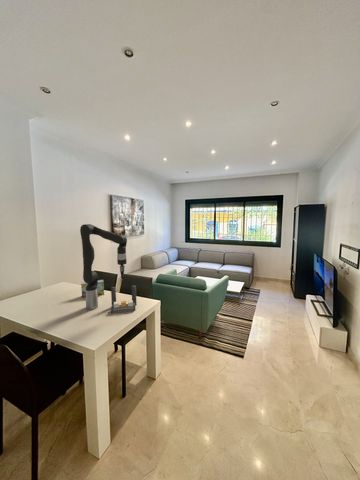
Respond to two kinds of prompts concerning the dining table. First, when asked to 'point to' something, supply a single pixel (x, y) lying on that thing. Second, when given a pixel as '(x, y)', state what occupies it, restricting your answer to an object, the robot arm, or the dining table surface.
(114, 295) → the post
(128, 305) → the paddle
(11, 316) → the dining table surface
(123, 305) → the paddle
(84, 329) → the dining table surface
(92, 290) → the robot arm
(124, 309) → the breaker strip
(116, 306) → the paddle
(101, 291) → the snack box
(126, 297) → the dining table surface
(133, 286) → the post
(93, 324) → the dining table surface
